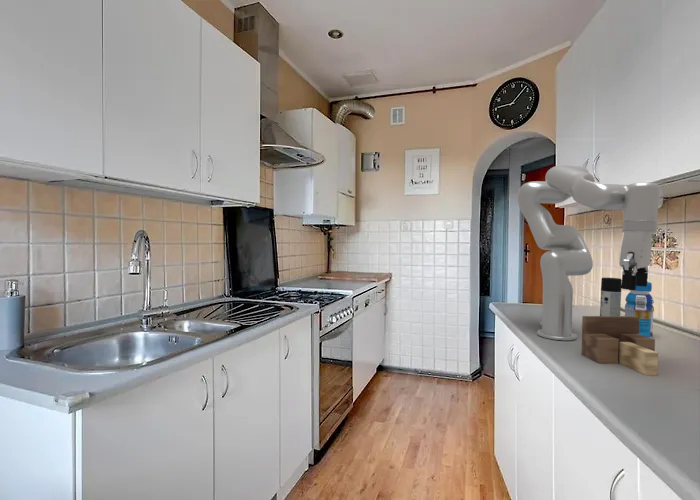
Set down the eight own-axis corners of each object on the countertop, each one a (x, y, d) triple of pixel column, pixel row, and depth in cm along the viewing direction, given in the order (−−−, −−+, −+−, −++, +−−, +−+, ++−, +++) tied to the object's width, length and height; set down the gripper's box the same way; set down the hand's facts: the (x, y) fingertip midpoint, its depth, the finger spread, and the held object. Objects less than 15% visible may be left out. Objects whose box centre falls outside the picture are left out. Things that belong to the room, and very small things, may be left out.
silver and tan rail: (609, 357, 112) (609, 338, 112) (618, 357, 112) (619, 338, 112) (646, 375, 98) (646, 352, 98) (657, 375, 98) (658, 352, 98)
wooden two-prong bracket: (581, 354, 115) (582, 316, 115) (633, 354, 116) (634, 316, 115) (598, 363, 107) (600, 322, 107) (654, 363, 108) (655, 322, 107)
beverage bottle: (618, 334, 139) (620, 281, 138) (634, 332, 142) (635, 280, 141) (642, 340, 131) (644, 283, 130) (658, 338, 134) (660, 282, 133)
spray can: (600, 325, 153) (601, 276, 153) (620, 328, 149) (622, 278, 148) (598, 328, 148) (600, 278, 147) (619, 331, 144) (621, 279, 143)
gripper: (633, 226, 113) (628, 282, 114) (612, 227, 103) (607, 288, 104) (664, 227, 107) (659, 286, 109) (645, 228, 97) (640, 293, 98)
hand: (634, 287), depth 106 cm, fingers open, 9 cm apart
